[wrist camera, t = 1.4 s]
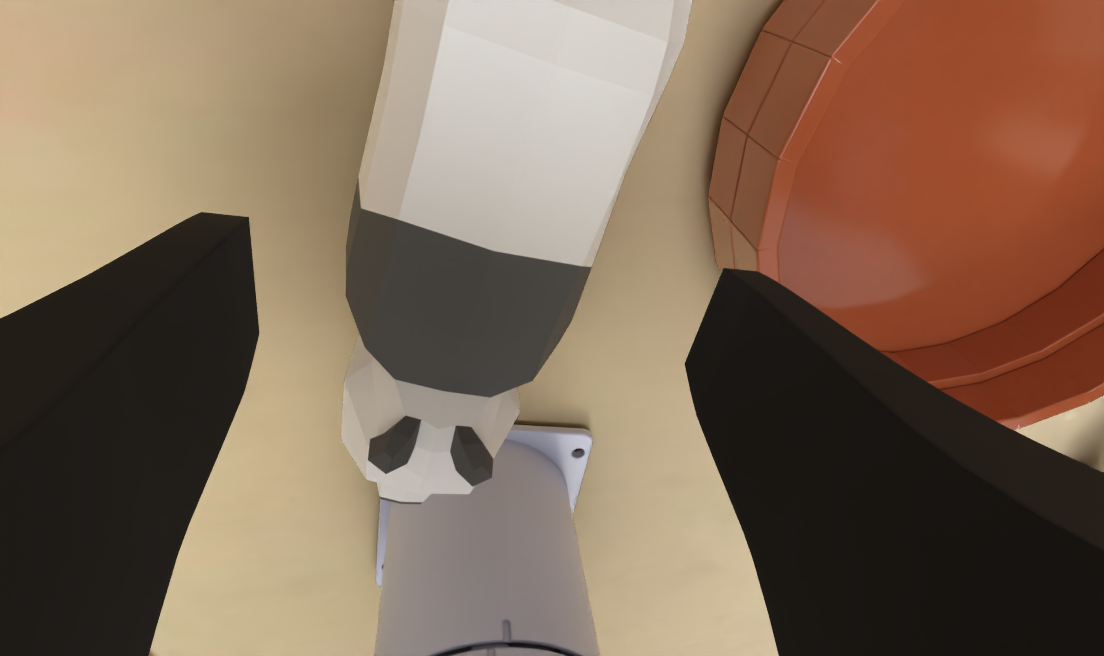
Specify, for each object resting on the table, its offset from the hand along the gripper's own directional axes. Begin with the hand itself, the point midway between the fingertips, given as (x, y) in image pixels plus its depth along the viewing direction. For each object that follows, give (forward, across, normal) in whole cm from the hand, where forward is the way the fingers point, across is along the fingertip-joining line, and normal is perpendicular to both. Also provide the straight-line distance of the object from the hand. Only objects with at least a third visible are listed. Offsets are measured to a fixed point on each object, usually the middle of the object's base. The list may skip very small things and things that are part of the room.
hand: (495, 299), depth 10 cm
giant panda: (+11, 0, +2) cm, 11 cm away
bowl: (+10, -16, 0) cm, 19 cm away
